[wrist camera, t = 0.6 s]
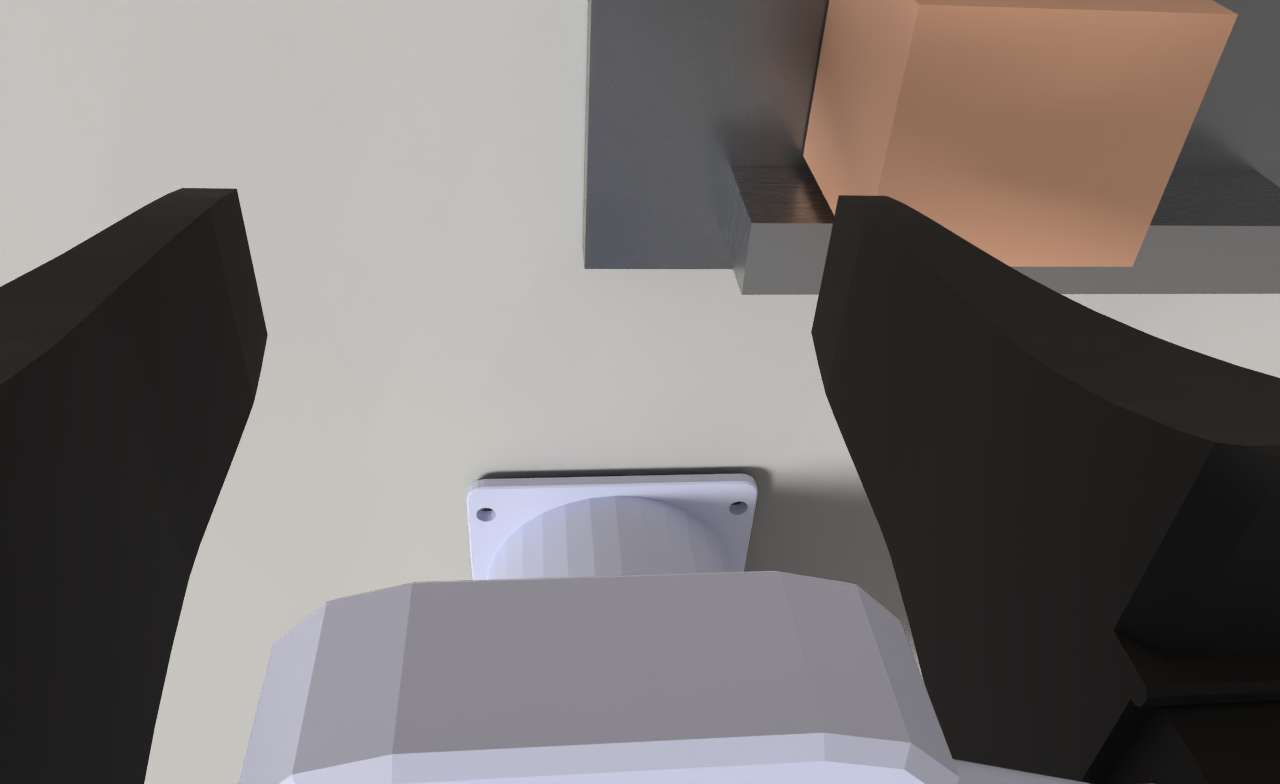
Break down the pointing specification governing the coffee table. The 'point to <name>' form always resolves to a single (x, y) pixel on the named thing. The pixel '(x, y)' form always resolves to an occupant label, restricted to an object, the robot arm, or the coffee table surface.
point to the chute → (789, 194)
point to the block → (1014, 116)
